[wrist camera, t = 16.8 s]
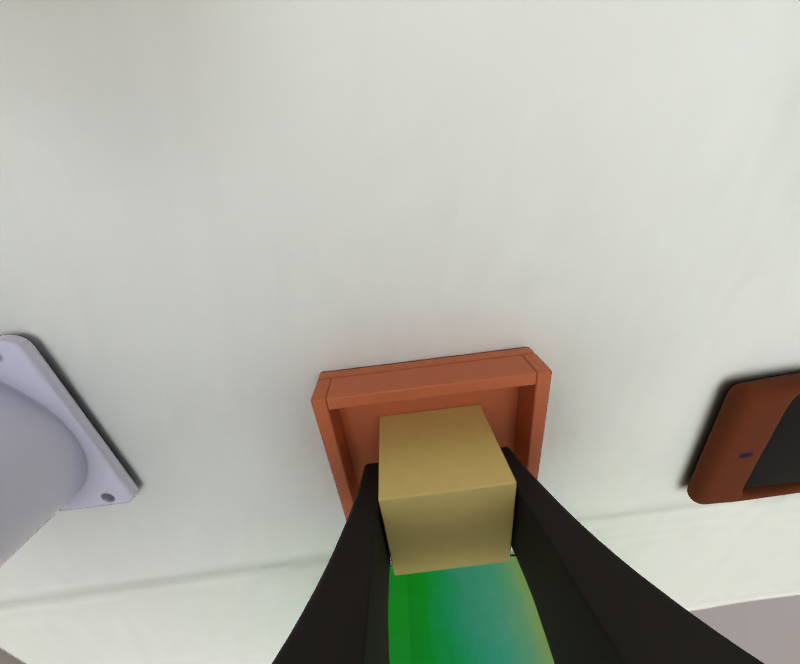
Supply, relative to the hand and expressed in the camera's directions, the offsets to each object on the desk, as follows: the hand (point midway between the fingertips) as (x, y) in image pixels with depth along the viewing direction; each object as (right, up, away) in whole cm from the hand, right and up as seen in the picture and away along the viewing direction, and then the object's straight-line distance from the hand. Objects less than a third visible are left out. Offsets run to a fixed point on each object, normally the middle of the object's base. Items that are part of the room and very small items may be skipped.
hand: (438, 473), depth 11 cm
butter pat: (0, +1, +1) cm, 1 cm away
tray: (0, +1, +2) cm, 2 cm away
